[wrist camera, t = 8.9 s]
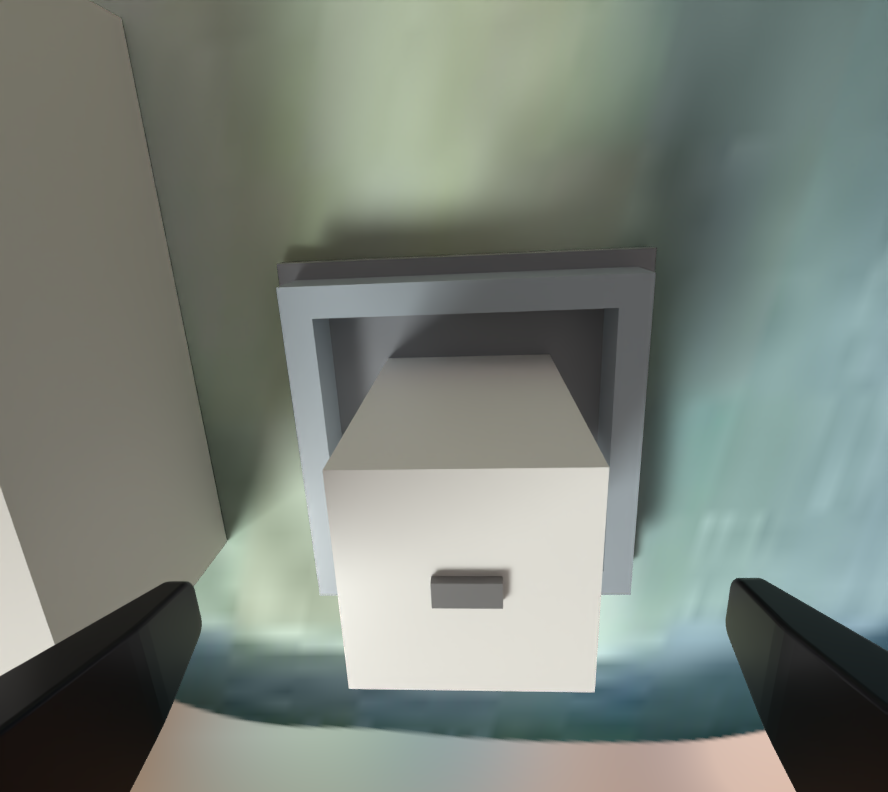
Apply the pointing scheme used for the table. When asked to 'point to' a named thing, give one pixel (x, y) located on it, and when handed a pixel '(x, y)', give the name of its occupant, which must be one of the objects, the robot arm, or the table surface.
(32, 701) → the robot arm
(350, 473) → the block
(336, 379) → the frame
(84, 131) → the wall stub
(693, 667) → the table surface
